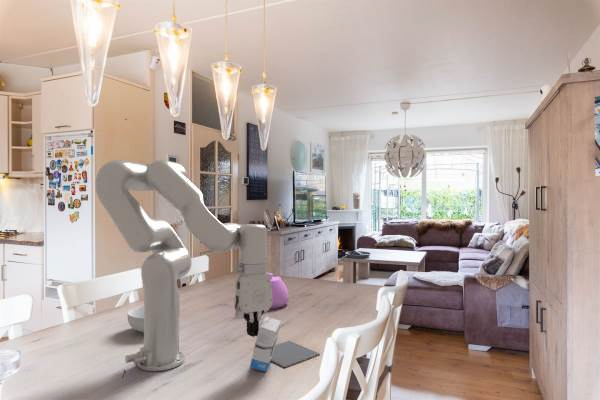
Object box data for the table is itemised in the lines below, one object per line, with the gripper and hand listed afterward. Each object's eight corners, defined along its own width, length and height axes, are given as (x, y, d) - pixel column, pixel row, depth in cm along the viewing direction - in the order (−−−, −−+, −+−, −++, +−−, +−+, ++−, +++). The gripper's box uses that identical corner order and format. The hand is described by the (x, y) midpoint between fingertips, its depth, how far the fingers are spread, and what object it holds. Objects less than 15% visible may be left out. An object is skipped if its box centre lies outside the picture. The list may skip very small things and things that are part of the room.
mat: (284, 368, 107) (284, 366, 107) (254, 352, 118) (254, 351, 118) (319, 354, 117) (319, 353, 117) (289, 341, 127) (289, 340, 127)
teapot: (265, 296, 187) (266, 267, 187) (298, 301, 179) (298, 271, 179) (234, 308, 165) (234, 276, 164) (269, 315, 156) (269, 281, 156)
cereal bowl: (123, 340, 127) (123, 319, 127) (131, 324, 143) (131, 305, 143) (177, 336, 131) (177, 315, 131) (179, 321, 147) (179, 302, 147)
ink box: (266, 372, 105) (276, 332, 103) (248, 367, 105) (258, 326, 104) (272, 358, 113) (281, 320, 112) (256, 353, 114) (265, 315, 113)
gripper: (237, 274, 99) (237, 345, 99) (282, 267, 109) (282, 332, 109) (222, 270, 105) (221, 337, 105) (266, 264, 115) (266, 325, 115)
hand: (252, 334), depth 107 cm, fingers closed
